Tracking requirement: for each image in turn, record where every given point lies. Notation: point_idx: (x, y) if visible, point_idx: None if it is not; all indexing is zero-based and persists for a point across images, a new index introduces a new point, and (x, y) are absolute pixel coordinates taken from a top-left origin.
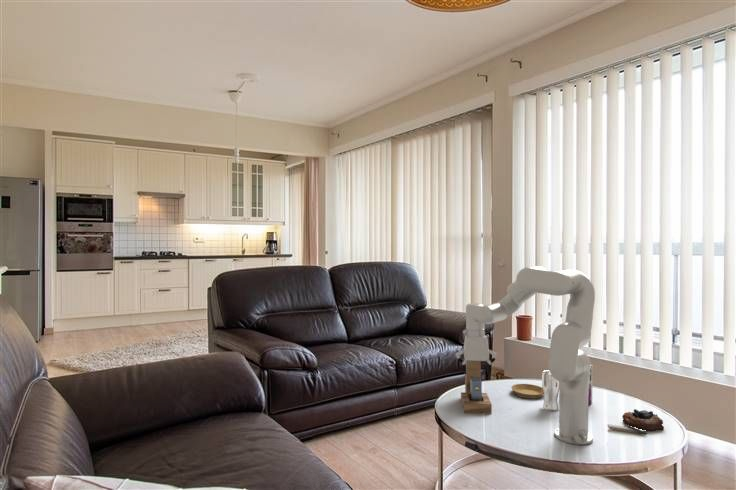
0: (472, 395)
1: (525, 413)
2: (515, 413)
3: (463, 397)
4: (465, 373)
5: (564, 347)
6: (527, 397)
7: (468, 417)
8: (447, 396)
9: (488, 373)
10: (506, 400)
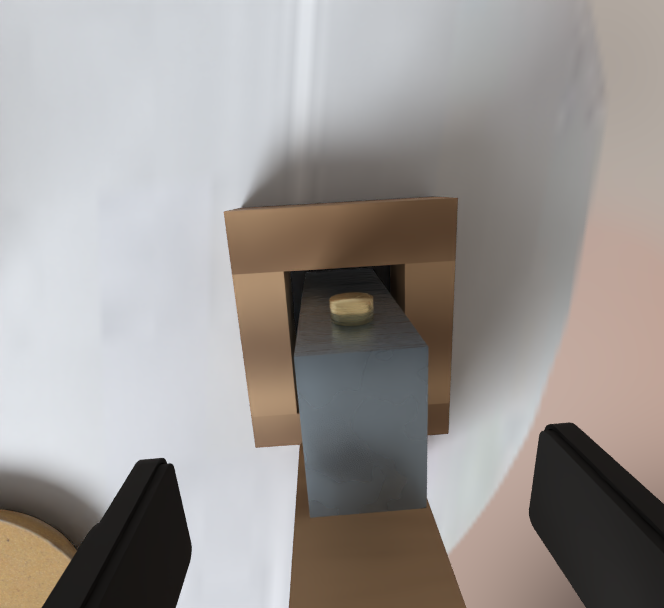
0: (384, 293)
1: (2, 248)
2: (72, 238)
3: (444, 331)
4: (565, 430)
5: None
6: (5, 510)
7: (411, 110)
8: (500, 464)
9: (158, 469)
10: (138, 454)
